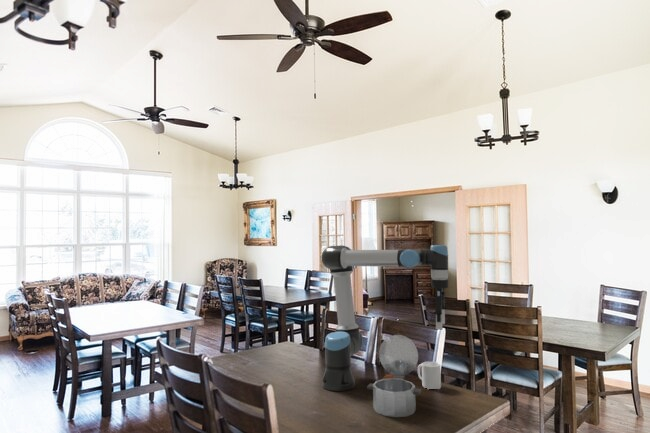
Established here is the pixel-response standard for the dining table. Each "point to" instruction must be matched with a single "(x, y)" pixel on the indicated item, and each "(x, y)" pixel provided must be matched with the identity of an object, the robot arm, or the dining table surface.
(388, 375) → the burger
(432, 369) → the cup
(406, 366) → the lid
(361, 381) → the dining table surface
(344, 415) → the dining table surface
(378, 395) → the pot
